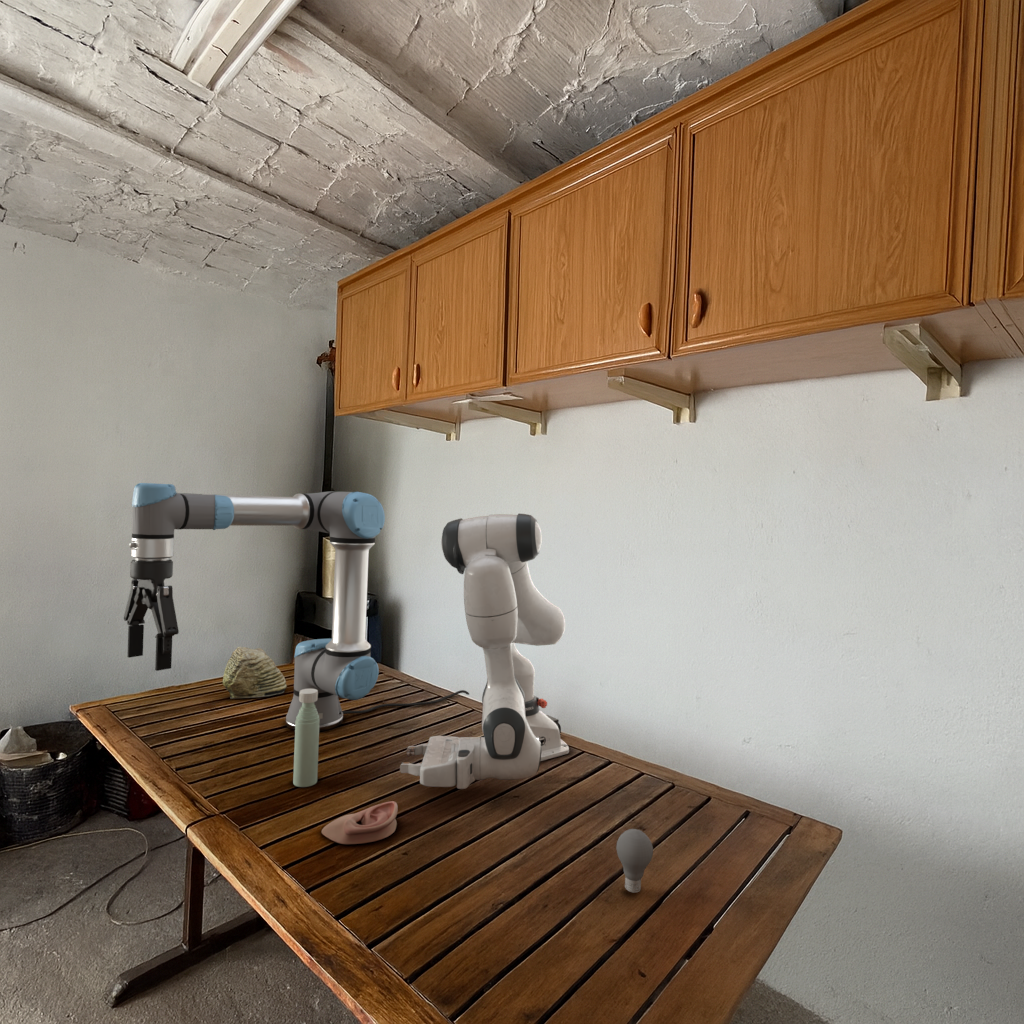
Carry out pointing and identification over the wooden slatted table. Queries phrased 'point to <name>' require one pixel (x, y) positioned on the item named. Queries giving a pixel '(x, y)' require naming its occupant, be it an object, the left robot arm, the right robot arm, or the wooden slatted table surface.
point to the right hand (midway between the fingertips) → (403, 759)
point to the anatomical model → (364, 825)
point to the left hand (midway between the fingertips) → (148, 662)
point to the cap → (308, 695)
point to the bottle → (306, 746)
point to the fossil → (252, 674)
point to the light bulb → (634, 857)
